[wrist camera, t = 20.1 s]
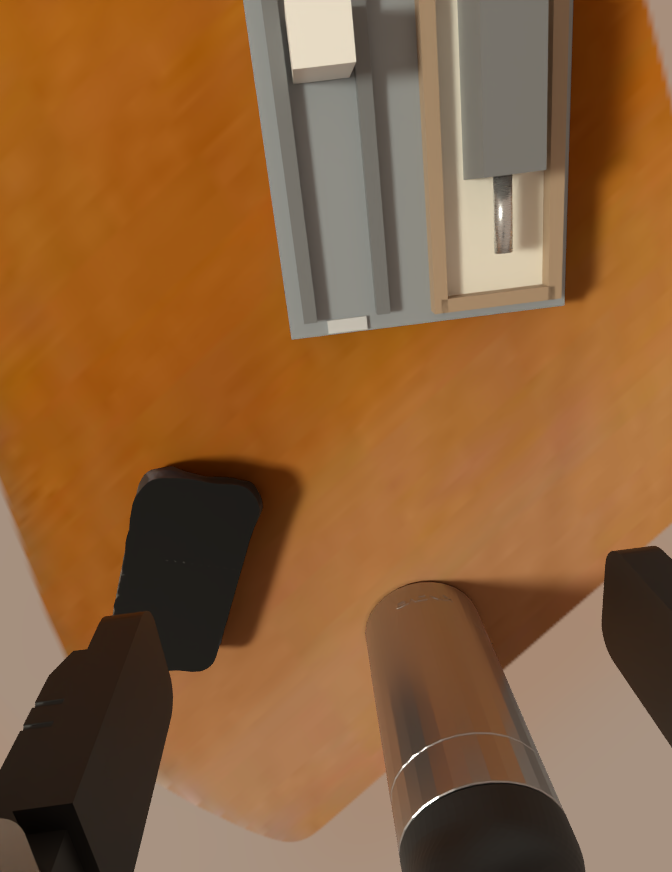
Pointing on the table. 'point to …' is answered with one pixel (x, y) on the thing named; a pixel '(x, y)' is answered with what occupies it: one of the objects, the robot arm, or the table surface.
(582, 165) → the table surface
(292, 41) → the switch tab
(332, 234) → the switch board
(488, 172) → the grey block with bolt
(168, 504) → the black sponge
